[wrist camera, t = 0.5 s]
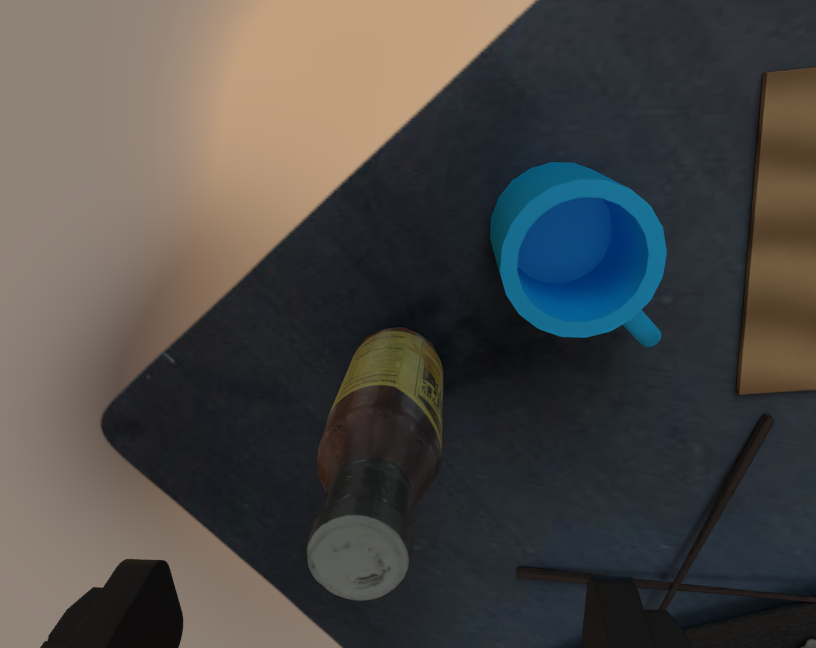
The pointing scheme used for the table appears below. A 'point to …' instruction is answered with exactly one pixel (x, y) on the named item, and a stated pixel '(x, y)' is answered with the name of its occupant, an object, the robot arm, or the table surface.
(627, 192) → the mug
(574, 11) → the table surface
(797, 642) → the sushi plate
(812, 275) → the wooden board
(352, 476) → the sauce bottle
